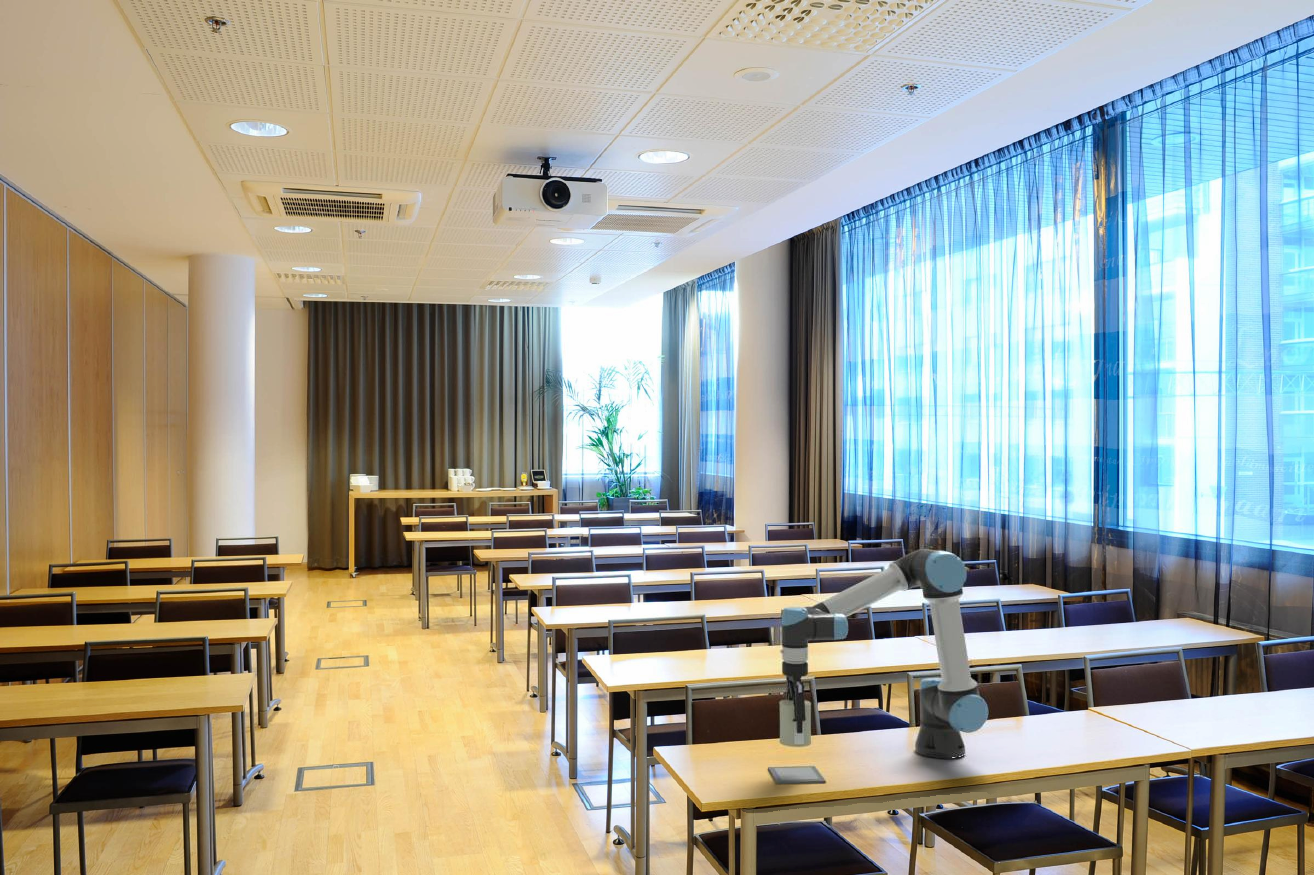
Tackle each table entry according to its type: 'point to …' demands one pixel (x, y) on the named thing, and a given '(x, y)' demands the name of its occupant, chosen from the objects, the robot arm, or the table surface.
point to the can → (788, 724)
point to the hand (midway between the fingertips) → (795, 739)
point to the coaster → (796, 775)
